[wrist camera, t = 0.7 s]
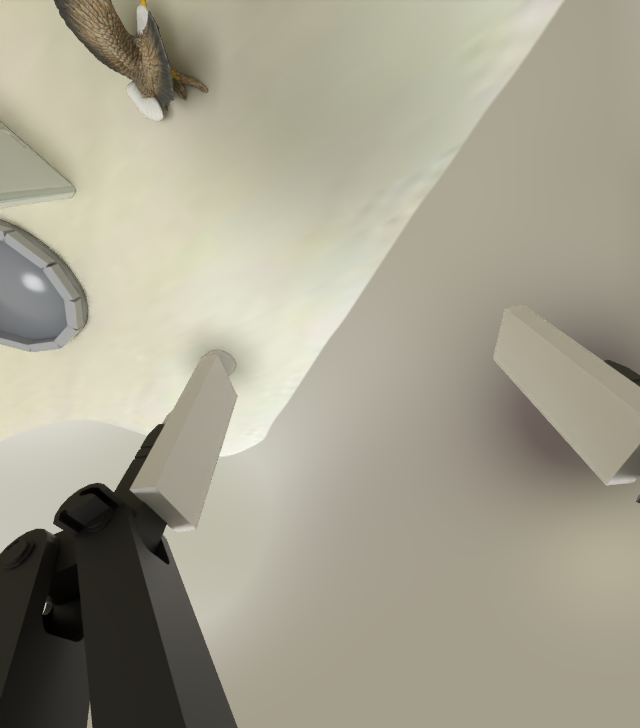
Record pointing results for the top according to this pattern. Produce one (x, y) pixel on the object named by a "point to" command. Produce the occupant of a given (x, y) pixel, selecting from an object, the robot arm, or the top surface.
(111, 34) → the eagle figurine
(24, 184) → the external hard drive
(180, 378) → the top surface
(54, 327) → the dish
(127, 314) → the top surface
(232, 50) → the top surface
